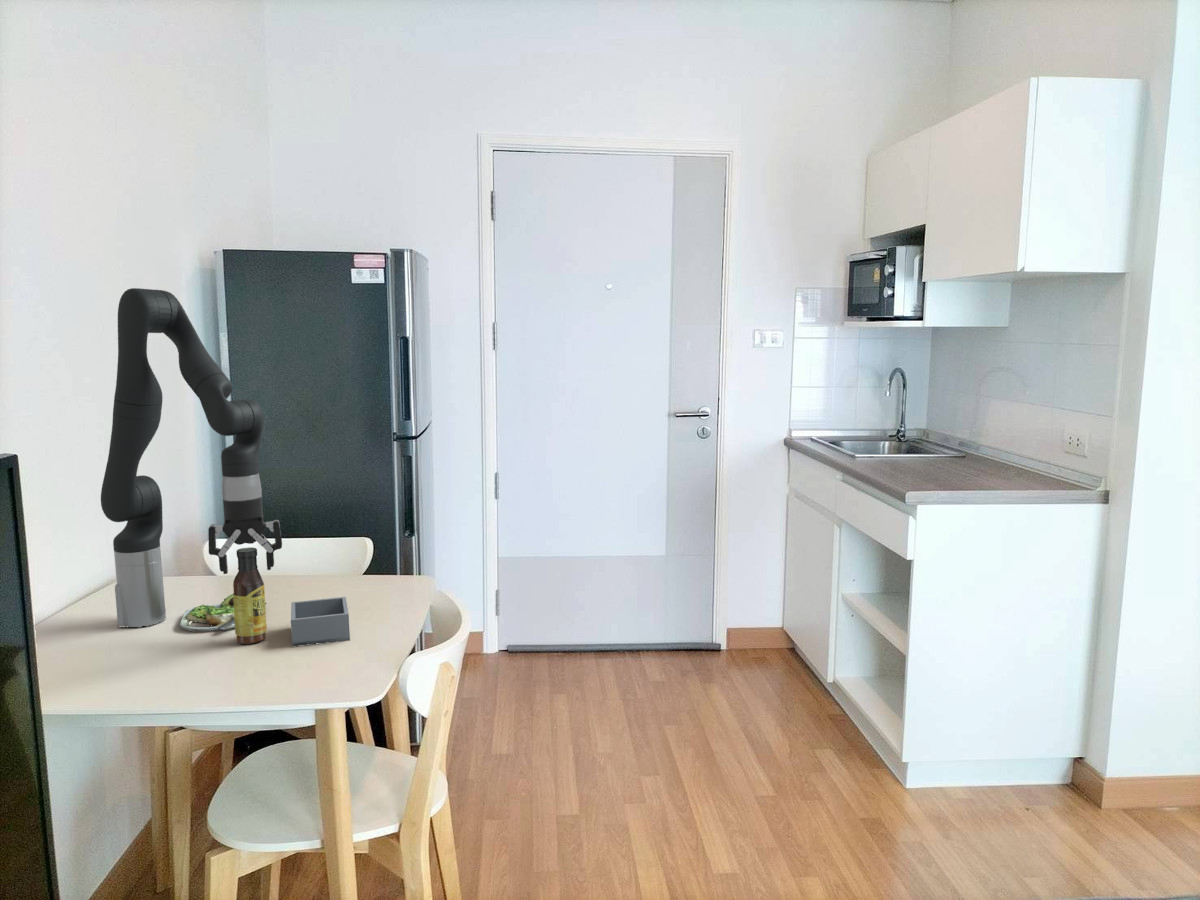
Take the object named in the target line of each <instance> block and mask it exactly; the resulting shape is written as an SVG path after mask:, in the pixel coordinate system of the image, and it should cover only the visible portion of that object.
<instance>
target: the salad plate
mask: <svg viewBox="0 0 1200 900" xmlns="http://www.w3.org/2000/svg"><path fill="white" fill-rule="evenodd" d="M266 605H267V602H265V606H266ZM190 621H196V622H195V623H199V622H208V623H207V624H209V623H210V624H209V626H205V627H201V626H200V627H199V626H193V625H192V626H191V625H190V624H189V622H190ZM210 625H212V627H211V626H210ZM179 626H180V627H181V628H182V629H184V630H187V631H189V632H191V631H192V633H212V631H213V632H221V631H222V632H223V630H224V631H229V630H233V628H234V629H235V619H234V600H233V593H232V594H230V595H228V596H227V597H225V598H224V599H223V601H222V602H220V603H217V604H201V605H199V606H195V607H192V608H190V609H188V610H186V611H185V612H184V613H183V614H182V617H181V620H180V624H179Z"/></svg>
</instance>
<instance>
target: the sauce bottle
mask: <svg viewBox="0 0 1200 900" xmlns="http://www.w3.org/2000/svg"><path fill="white" fill-rule="evenodd" d="M257 556H258V550H257V548H256V547H242V548H238V549H237V550H236V557H237V570H238V572H237V574H236V575H235V577H234V579H233V584H232V587H233V589H232V590H233V593H232V594H233V600H234V619H235V628H234V632H235V637H236V642H237V643H238V644H241V645H252V644H257V643H260V642H263V641H264V640H265V639H266V637H267V631H268V629H267V611H266V609H267V608H266V605H265V603H266V591H265V588H266V587H265V583H264V580H263V578H262V576H261V573H260V571H259V569H258V559H257Z"/></svg>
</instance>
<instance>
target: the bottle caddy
mask: <svg viewBox="0 0 1200 900" xmlns="http://www.w3.org/2000/svg"><path fill="white" fill-rule="evenodd" d="M290 605H291V606H290V627H291V628H290V631H291V632H290V633H291V646H297V647H299V646H298V645H305V646H308V645H307V644H313V645H317V644H316V643H322V644H327V643H326V642H330V643H336V641H339V642H347V641H351V637H350V636H351V635H350V613H349V608H348V602H347V596H340V597H331V598H320V599H312V600H311V599H309V600H300V601H291V603H290ZM346 640H347V641H346Z"/></svg>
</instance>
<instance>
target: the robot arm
mask: <svg viewBox="0 0 1200 900" xmlns="http://www.w3.org/2000/svg"><path fill="white" fill-rule="evenodd" d="M149 334H164V335H165V336H166V337H167V338H169V340H170V341H171V342H172V343H173V344H174V345H175V348H176V349H177V353H178V367H179V370H180V374H181V375H182V378H183V380H184V381H185V382H186V385H188V387H189V388H191V389H190V390H192V391H193V393H194V394H195V395H196V397H198V399H199V401H200V404H201V407H202V409H203V411H204V415H205V417H206V420H207V423H208V425H209V426H210V427H211V429H212V430H213V431H214V432H215V433H216V434H219V435H220V436H223V437H224V436H225V437H231V436H235V438H234V442H233V443H231V445H229V446H227V447H225V448H223V450H222V451H221V455H220V457H221V459H220V460H221V472H222V473H221V475H222V482H221V490H222V493H221V494H222V503H223V504H222V505H223V518H224V523H223V525H215V523H214V524H210V525H209V527H208V528H207V529H208V530H207V531H208V535H207V536H208V554H209V555H210V556H217V557H218V563H219V564H218V566H219V571H220V572H221V573H222V572H223V573H222V574H223V575H227V574H228V573H229V569H228V554H227V552H228V551H229V550H230V548H231V547H232V546H233V544H236V545H238V546H239V545H243V544H248V545H249V544H251V545H252V544H254V543H256V542H257V543H258V544H259V545H260V546H261V547H263V549H264V550H265V551H266V552H265V553H266V554H265V555H266V570H267V571H271V570H272V568H273V567H275V566H274V565H275V556H274V555H275V551H277V550H281V549H282V547H283V541H282V533H281V531H282V530H281V525H280V520H279V519H277V518H276V519H274V520H272V521H271V520H270V521H265V519H264V512H263V508H264V507H263V496H262V495H263V490H262V484H261V479H260V471H259V456H258V454H259V450H260V445H261V439H262V436H263V429H264V420H265V419H264V418H265V417H264V414H263V410H262V408H261V406H260V405H259V404H258V402H256V401H255V400H252V399H248V398H247V399H238V400H237V399H235V400H228V398H229V397H230V396H231V395H232V392H233V384H232V382H231V381H230V379H229V378H228V377H227V375H226V374H225V373H224V371H223V370H222V369H221V367H220V366H219V365H218V364H217V362H216V361H215V360H214V359H213V358H212V356H211V355H210V354H209V352H208V351H207V349H206V348H205V346H204V344H203V343H202V340H201V339H200V336H199V335H198V333H197V331H196V329H195V327H194V326H193V324H192V321H191V320H190V318H189V316H188V315H187V312H186V311H185V309H184V307H183V306H182V304H181V302H180V301H179V300H178V298H177V297H176V296H175V295H174V294H173V293H172V292H169V291H167V290H164V289H150V288H137V287H136V288H135V287H133V288H128V289H126V290H125V291H124V292H123V293H122V295H121V297H120V298H119V302H118V306H117V365H116V367H117V368H116V381H115V391H114V399H113V408H112V409H113V410H112V423H111V424H112V425H111V435H110V442H109V449H108V450H109V451H108V456H107V462H106V466H105V471H104V476H103V480H102V484H101V491H100V506H101V510H102V511H103V514H104V516H105V517H106V518H107V519H108V520H110V521H112V522H114V523H123V522H126V523H125V524H126V525H125V526H124V528H123V529H122V530H121V531H120V532H119V533H118V534H117V535H115V536H114V538H113V541H112V543H113V545H112V546H113V552H114V553H113V555H114V567H115V577H116V578H115V579H116V584H115V585H114V594H115V605H116V617H117V627H118V626H128V627H138V628H143V627H142V626H146V627H149V626H148V625H151V626H154V625H157V624H160V623H162V622H164V621H165V620H166V619H165V618H167V613H166V611H167V609H166V602H165V587H164V575H163V565H162V562H163V561H162V551H161V536H162V534H163V531H164V530H163V527H164V526H163V525H164V524H163V499H162V498H163V497H162V493H161V489H160V487H159V484H158V482H156V480H155V479H153V478H152V477H151V476H149V475H137V474H138V469H139V465H140V461H141V459H142V456H143V455H144V453H145V451H146V450H147V449H148V446H149V445H150V443H151V441H152V440H153V439H154V437H155V434H156V433H157V430H158V429H159V427H160V423H161V417H162V410H163V409H162V408H163V392H162V387H161V385H160V383H159V381H158V379H157V377H156V375H155V374H154V371H153V369H152V367H151V365H150V363H149V360H148V335H149ZM267 528H268V529H269V531H270V532H272V533H273V535H274V542H275V543H271V542H270V541H269V540H268V539H267V538H266V536H265V535H264V534H263V532H265V530H266V529H267ZM221 532H223V533H224V534H225V535H226V536H227V537H228V538H227V539H226V541H225V542H224V543H223V545H222V546H221V548H218V547H217V537H218V536H219V535H220V533H221ZM164 619H165V620H164ZM163 620H164V621H163ZM159 622H160V623H159ZM153 624H154V625H153ZM128 627H127V628H128Z"/></svg>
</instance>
